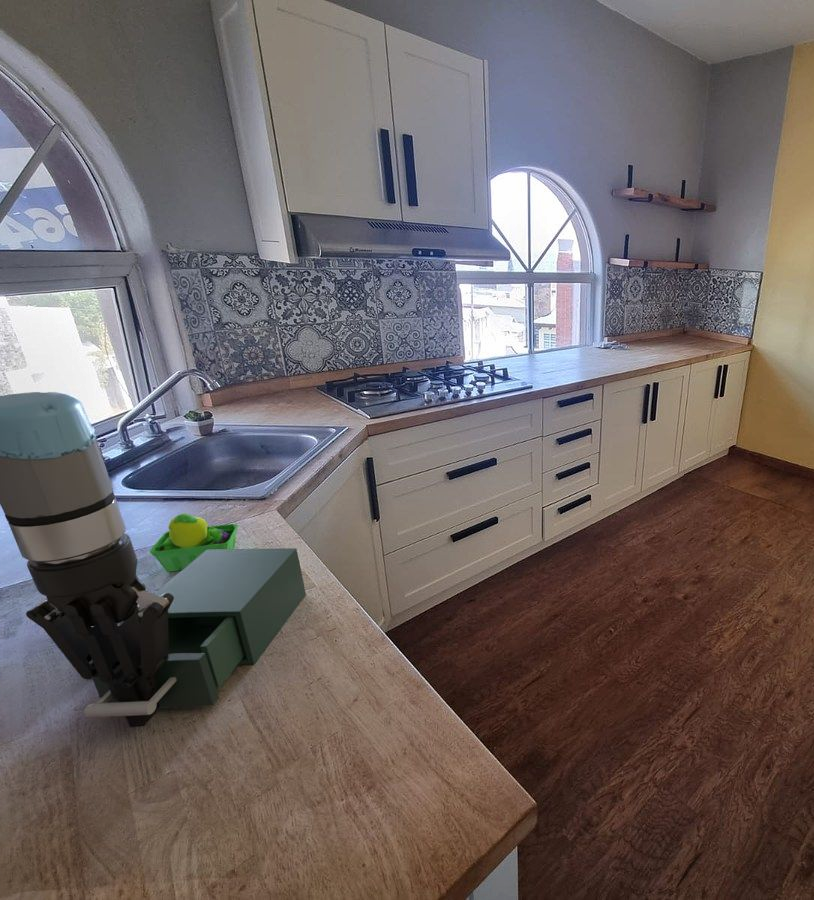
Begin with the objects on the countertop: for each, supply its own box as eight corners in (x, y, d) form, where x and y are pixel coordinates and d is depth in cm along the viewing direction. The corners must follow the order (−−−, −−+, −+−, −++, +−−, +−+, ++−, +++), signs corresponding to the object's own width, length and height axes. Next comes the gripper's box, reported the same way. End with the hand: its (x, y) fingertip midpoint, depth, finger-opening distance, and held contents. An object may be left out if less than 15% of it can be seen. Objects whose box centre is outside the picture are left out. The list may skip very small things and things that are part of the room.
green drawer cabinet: (254, 664, 69) (240, 611, 66) (149, 668, 68) (129, 614, 65) (306, 594, 84) (296, 548, 81) (220, 596, 83) (206, 549, 79)
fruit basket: (244, 545, 97) (231, 493, 93) (230, 570, 89) (215, 515, 85) (173, 554, 93) (156, 500, 89) (152, 582, 86) (132, 524, 82)
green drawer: (186, 741, 57) (169, 693, 55) (68, 747, 56) (45, 698, 54) (274, 626, 75) (264, 585, 73) (186, 628, 74) (173, 587, 72)
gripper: (173, 526, 55) (223, 689, 63) (43, 527, 54) (111, 694, 62) (118, 564, 48) (183, 742, 56) (-33, 568, 47) (56, 749, 55)
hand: (145, 717), depth 59 cm, fingers closed
